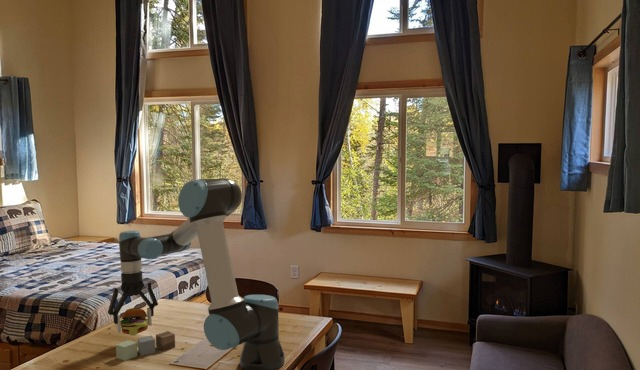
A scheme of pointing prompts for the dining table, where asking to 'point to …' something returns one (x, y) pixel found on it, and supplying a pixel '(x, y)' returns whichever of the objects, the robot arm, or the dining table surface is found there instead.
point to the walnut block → (165, 340)
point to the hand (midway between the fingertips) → (134, 328)
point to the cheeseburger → (134, 321)
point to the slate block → (146, 345)
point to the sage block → (126, 350)
